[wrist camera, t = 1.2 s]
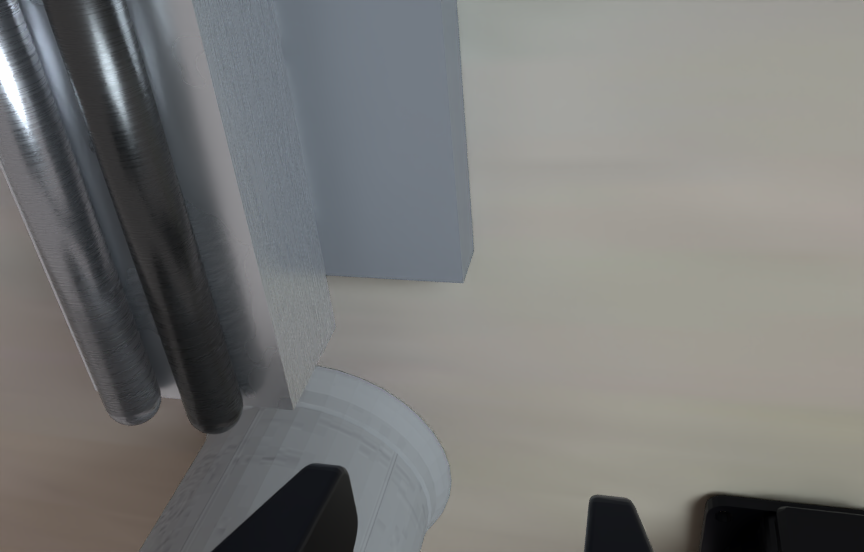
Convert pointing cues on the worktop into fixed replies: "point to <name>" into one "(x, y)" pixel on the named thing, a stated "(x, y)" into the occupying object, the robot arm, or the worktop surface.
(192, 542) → the grey rounded piece
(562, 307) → the worktop surface
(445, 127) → the label board
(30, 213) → the swing arm
